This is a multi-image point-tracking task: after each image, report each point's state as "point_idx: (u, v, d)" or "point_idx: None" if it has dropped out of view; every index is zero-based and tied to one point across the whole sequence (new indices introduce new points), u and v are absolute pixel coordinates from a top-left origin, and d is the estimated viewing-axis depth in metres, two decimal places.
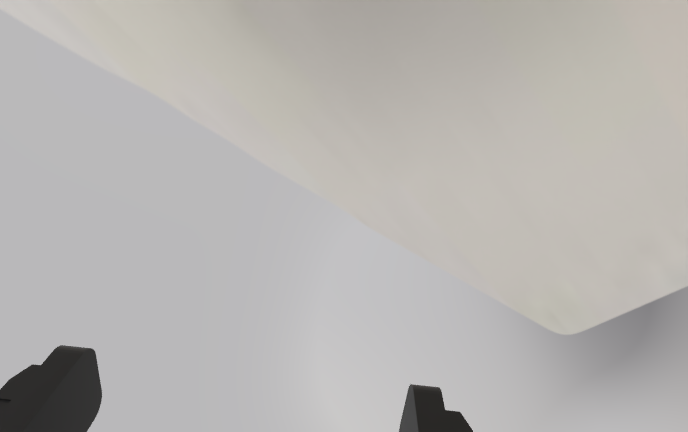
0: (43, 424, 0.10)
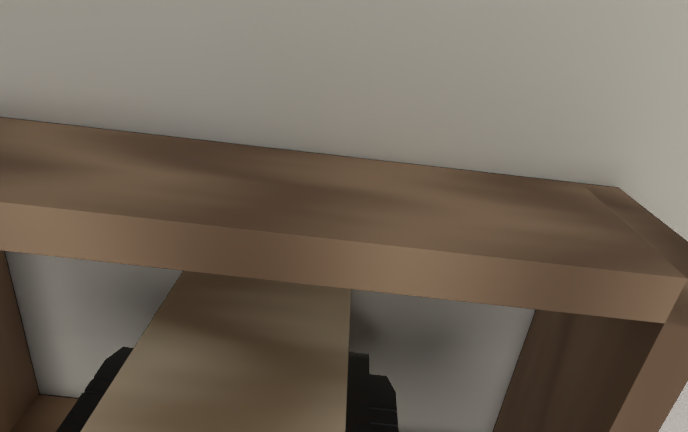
0: None
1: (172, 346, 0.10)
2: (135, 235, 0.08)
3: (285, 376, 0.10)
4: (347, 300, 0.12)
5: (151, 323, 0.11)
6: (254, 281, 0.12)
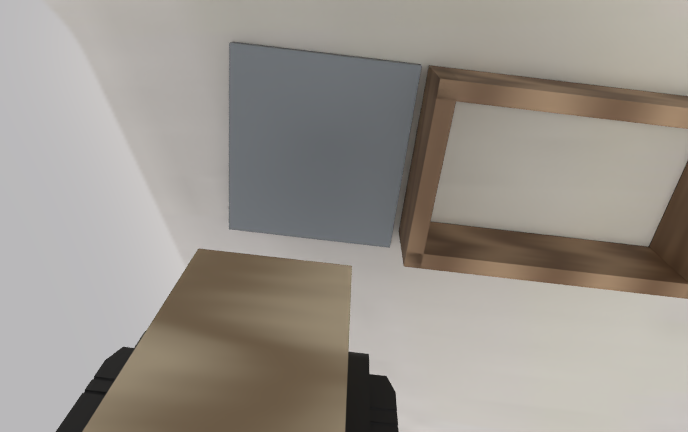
0: None
1: (172, 348, 0.10)
2: (581, 103, 0.24)
3: (285, 378, 0.10)
4: (347, 301, 0.12)
5: (151, 325, 0.11)
6: (254, 283, 0.12)
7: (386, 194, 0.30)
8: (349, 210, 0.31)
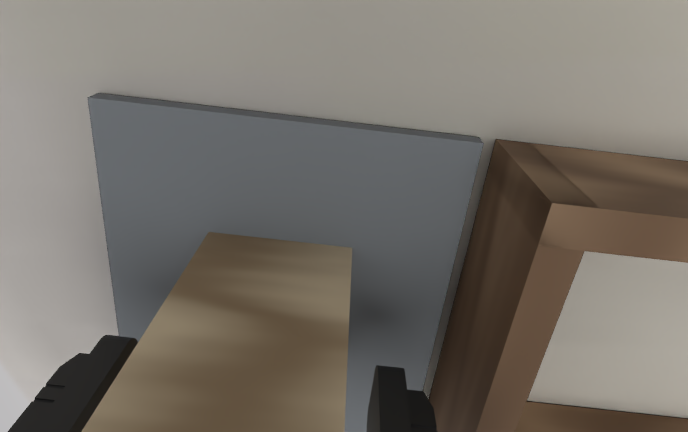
0: None
1: (188, 317, 0.11)
2: None
3: (291, 343, 0.10)
4: (348, 278, 0.13)
5: (168, 297, 0.11)
6: (261, 261, 0.13)
7: (407, 362, 0.17)
8: None
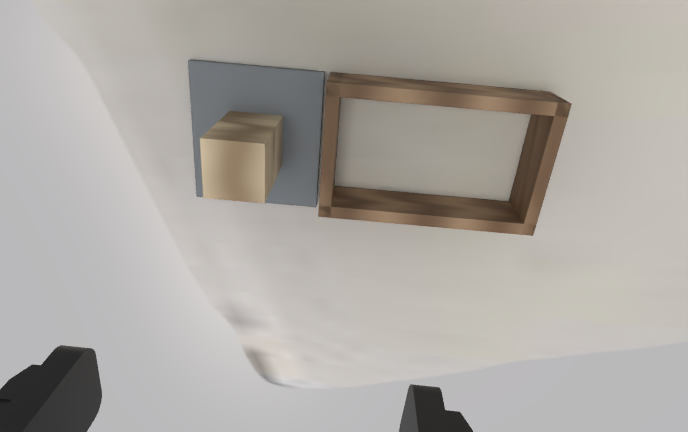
0: (43, 424, 0.10)
1: (225, 124, 0.36)
2: (423, 95, 0.34)
3: (256, 129, 0.35)
4: (278, 120, 0.38)
5: (218, 121, 0.36)
6: (248, 116, 0.38)
7: (309, 167, 0.41)
8: (283, 179, 0.42)
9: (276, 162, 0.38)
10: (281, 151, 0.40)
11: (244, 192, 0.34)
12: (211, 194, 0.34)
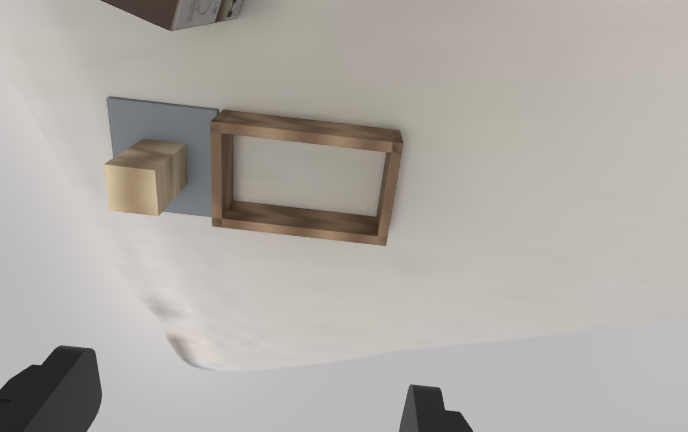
0: (43, 424, 0.10)
1: (132, 151, 0.45)
2: (287, 134, 0.44)
3: (155, 156, 0.44)
4: (179, 148, 0.47)
5: None
6: (155, 144, 0.47)
7: (210, 185, 0.50)
8: (189, 194, 0.51)
9: (177, 182, 0.47)
10: (185, 172, 0.49)
11: (141, 207, 0.43)
12: (115, 208, 0.43)
